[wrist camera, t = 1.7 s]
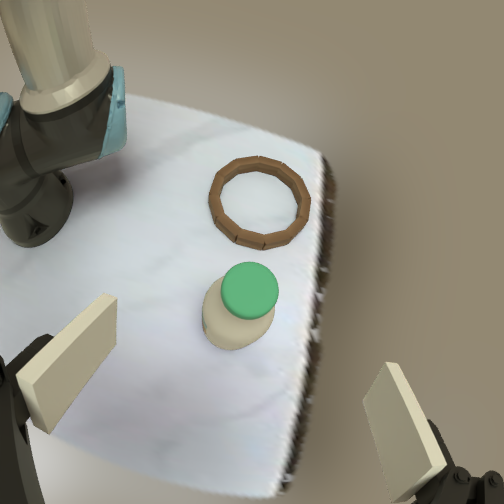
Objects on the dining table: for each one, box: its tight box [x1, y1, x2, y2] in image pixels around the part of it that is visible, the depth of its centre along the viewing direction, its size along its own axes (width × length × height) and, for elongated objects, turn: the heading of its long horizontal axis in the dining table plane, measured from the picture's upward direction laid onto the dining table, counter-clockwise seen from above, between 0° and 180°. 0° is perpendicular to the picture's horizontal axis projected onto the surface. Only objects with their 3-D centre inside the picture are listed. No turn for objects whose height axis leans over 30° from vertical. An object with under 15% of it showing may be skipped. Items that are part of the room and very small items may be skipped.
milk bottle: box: [202, 262, 279, 350], centre depth 33 cm, size 8×8×20 cm
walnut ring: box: [208, 156, 311, 250], centre depth 48 cm, size 16×16×2 cm
